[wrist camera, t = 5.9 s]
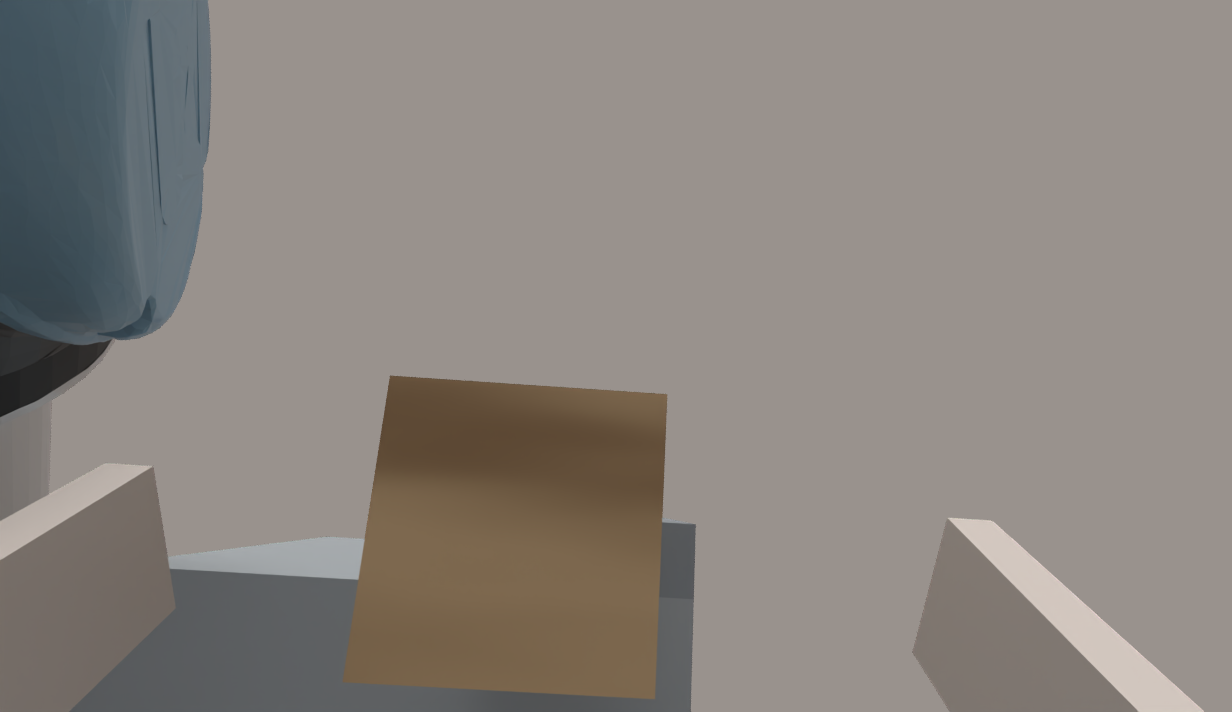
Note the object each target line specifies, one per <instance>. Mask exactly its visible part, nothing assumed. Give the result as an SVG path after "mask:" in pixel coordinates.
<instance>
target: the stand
mask: <svg viewBox="0 0 1232 712" xmlns="http://www.w3.org/2000/svg"><path fill="white" fill-rule="evenodd" d="M695 528H696V525H695V524H691V523H686V522H681V521H676V520H672V519H667V518H662V537H661V562H660V587H659V612H658V637H657V662H656V687H655V699H641V698H622V697H604V696H586V695H567V694H549V693H530V692H512V691H494V690H475V689H457V688H438V687H420V686H401V685H383V684H365V683H346V682H342V681H343V675H344V669H345V662H346V656H347V649H348V643H349V636H350V630H351V624H352V617H353V611H354V604H355V598H356V591H357V585H358V579H359V572H360V566H361V559H362V553H363V547H364V540H365V539H357V538H340V537H321V538H313V539H306V540H298V541H290V542H282V543H273V544H266V545H258V546H250V547H243V548H234V549H227V550H219V551H210V552H202V553H194V554H187V555H179V556H170V557H168V562H169V568H170V574H171V581H172V587H173V593H174V599H175V606H176V608H175V609H174V610H173V611H172V612H171V613H170V614H169V615H168V616H167V617H166V618H165V619H164V620H163V621H162V622H161V623H160V624H159V625H158V626H157V627H156V628H155V629H154V630H153V631H152V632H151V633H150V634H149V635H148V636H147V637H146V638H144V639H143V640H142V641H141V642H140V643H139V644H138V645H137V646H136V647H135V648H134V649H133V650H132V651H131V652H130V653H129V654H128V655H127V656H126V657H125V658H124V659H123V660H122V661H121V662H120V663H119V664H118V665H117V666H116V667H115V668H114V669H113V670H111V671H110V672H109V673H108V674H107V675H106V676H105V677H104V678H103V679H102V680H101V681H100V682H99V683H98V684H97V685H96V686H95V687H94V688H93V689H92V690H91V691H90V692H89V693H88V694H87V695H86V696H85V697H84V698H83V699H82V700H81V701H79V702H78V703H77V704H76V705H75V706H74V707H73V708H72V709H71V710H70V711H69V712H691V676H692V640H693V602H694V565H695V564H694V563H695Z"/></svg>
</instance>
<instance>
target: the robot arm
mask: <svg viewBox="0 0 1232 712" xmlns="http://www.w3.org/2000/svg"><path fill="white" fill-rule="evenodd" d="M210 101H211V48H210V24H209V9H208V0H0V712H69V711H70V710H71V709H72V708H73V707H74V706H75V705H76V704H77V703H78V702H79V701H81V700H82V699H83V698H84V697H85V696H86V695H87V694H88V693H89V692H90V691H91V690H92V689H93V688H94V687H95V686H96V685H97V684H98V683H99V682H100V681H101V680H102V679H103V678H104V677H105V676H106V675H107V674H108V673H109V672H110V671H111V670H113V669H114V668H115V667H116V666H117V665H118V664H119V663H120V662H121V661H122V660H123V659H124V658H125V657H126V656H127V655H128V654H129V653H130V652H131V651H132V650H133V649H134V648H135V647H136V646H137V645H138V644H139V643H140V642H141V641H142V640H143V639H144V638H146V637H147V636H148V635H149V634H150V633H151V632H152V631H153V630H154V629H155V628H156V627H157V626H158V625H159V624H160V623H161V622H162V621H163V620H164V619H165V618H166V617H167V616H168V615H169V614H170V613H171V612H172V611H173V610H174V609H175V608H176V606H175V599H174V593H173V587H172V581H171V574H170V568H169V562H168V556H167V549H166V543H165V537H164V531H163V524H162V518H161V512H160V506H159V499H158V493H157V488H156V481H155V474H154V468H153V466H143V465H128V464H112V463H105V464H103V465H101V466H99V467H97V468H96V469H94V470H92V471H90V472H89V473H87V474H85V475H83V476H81V477H79V478H77V479H76V480H74V481H72V482H70V483H68V484H67V485H65V486H63V487H61V488H59V489H57V490H56V491H54V492H52V493H51V494H49V473H50V443H51V441H50V440H51V411H52V410H51V409H52V400H53V399H54V398H56V397H58V396H60V395H61V394H63V393H65V392H66V391H67V390H69V389H70V388H71V387H73V386H74V385H75V384H77V383H78V382H79V381H81V380H82V379H83V378H85V377H86V376H87V375H88V374H89V373H90V372H91V371H92V370H93V369H94V368H95V367H96V366H97V365H98V364H99V363H100V362H101V361H102V360H103V358H104V357H105V355H106V353H107V352H108V350H109V349H110V348H111V346H112V345H113V343H114V341H115V339H117V340H129V339H137V338H141V337H143V336H146V335H148V334H151V333H152V332H154V331H156V330H157V329H159V328H160V327H161V326H162V325H163V324H164V323H165V322H166V321H167V320H168V319H169V318H170V317H171V315H172V314H173V312H174V310H175V308H176V306H177V304H178V303H179V300H180V299H181V297H182V294H183V291H184V289H185V285H186V282H187V279H188V275H189V270H190V266H191V263H192V259H193V256H194V252H195V247H196V242H197V236H198V231H199V224H200V219H201V212H202V192H203V167H204V164H205V162H206V157H207V153H208V145H209V129H210ZM913 654H914V656H915V657H916V659H917V660H918V662H919V664H920V665H921V667H922V668H923V670H924V672H925V673H926V675H927V676H928V678H929V679H930V681H931V683H932V684H933V686H934V687H935V689H936V691H937V692H938V694H939V695H940V697H941V698H942V700H943V702H944V703H945V705H946V706H947V708H948V710H949V711H950V712H1204V711H1203V710H1202V709H1201V708H1200V707H1199V706H1198V705H1197V704H1195V703H1194V702H1193V701H1192V700H1191V699H1190V698H1189V697H1188V696H1187V695H1185V694H1184V693H1183V692H1182V691H1181V690H1180V689H1179V688H1178V687H1176V686H1175V685H1174V684H1173V683H1172V682H1171V681H1170V680H1169V679H1168V678H1167V677H1165V676H1164V675H1163V674H1162V673H1161V672H1160V671H1159V670H1158V669H1157V668H1155V667H1154V666H1153V665H1152V664H1151V663H1150V662H1149V661H1148V660H1147V659H1145V658H1144V657H1143V656H1142V655H1141V654H1140V653H1139V652H1138V651H1137V650H1135V649H1134V648H1133V647H1132V646H1131V645H1130V644H1129V643H1128V642H1127V641H1125V640H1124V639H1123V638H1122V637H1121V636H1120V635H1119V634H1118V633H1116V632H1115V631H1114V630H1113V629H1112V628H1111V627H1110V626H1109V625H1108V624H1107V623H1105V622H1104V621H1103V620H1102V619H1101V618H1100V617H1099V616H1098V615H1097V614H1095V613H1094V612H1093V611H1092V610H1091V609H1090V608H1089V607H1088V606H1087V605H1085V604H1084V603H1083V602H1082V601H1081V600H1080V599H1078V597H1077V596H1075V595H1074V594H1073V593H1072V592H1071V591H1070V590H1069V589H1068V588H1067V587H1065V586H1064V585H1063V584H1062V583H1061V582H1060V581H1059V580H1058V579H1057V578H1055V577H1054V576H1053V575H1052V574H1051V573H1050V572H1049V571H1048V570H1047V569H1045V568H1044V567H1043V566H1042V565H1041V564H1040V563H1039V562H1038V561H1037V560H1035V559H1034V558H1033V557H1032V556H1031V555H1030V554H1029V553H1028V552H1026V551H1025V550H1024V549H1023V548H1022V547H1021V546H1020V545H1019V544H1018V543H1017V542H1015V541H1014V540H1013V539H1012V538H1011V537H1010V536H1009V535H1007V534H1006V533H1005V532H1004V531H1003V530H1002V529H1001V528H1000V527H999V526H998V525H997V524H995V523H994V522H993V521H990V520H975V519H959V518H958V519H957V518H947V521H946V525H945V529H944V532H943V537H942V540H941V544H940V548H939V552H938V556H937V559H936V563H935V567H934V571H933V575H932V579H931V583H930V587H929V590H928V594H927V598H926V602H925V606H924V610H923V613H922V618H921V621H920V625H919V629H918V633H917V637H916V640H915V644H914V648H913Z"/></svg>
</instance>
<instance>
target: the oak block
mask: <svg viewBox="0 0 1232 712" xmlns="http://www.w3.org/2000/svg"><path fill="white" fill-rule="evenodd" d="M666 413H667V394H655V393H640V392H626V391H610V390H595V389H580V388H566V387H550V386H536V385H521V384H505V383H490V382H476V381H461V380H447V379H432V378H416V377H402V376H390V380H389V386H388V392H387V399H386V406H385V412H384V418H383V424H382V431H381V438H380V444H379V450H378V457H377V463H376V470H375V476H374V482H373V489H372V495H371V502H370V508H369V515H368V521H367V527H366V534H365V540H364V547H363V553H362V559H361V566H360V572H359V579H358V585H357V591H356V598H355V604H354V611H353V617H352V624H351V630H350V636H349V643H348V649H347V656H346V662H345V669H344V675H343V681H342V682H346V683H365V684H383V685H401V686H420V687H438V688H457V689H475V690H494V691H512V692H530V693H549V694H567V695H586V696H604V697H622V698H641V699H655V687H656V662H657V637H658V612H659V587H660V562H661V537H662V512H663V488H664V487H663V486H664V461H665V460H664V459H665V438H666V437H665V435H666Z"/></svg>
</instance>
